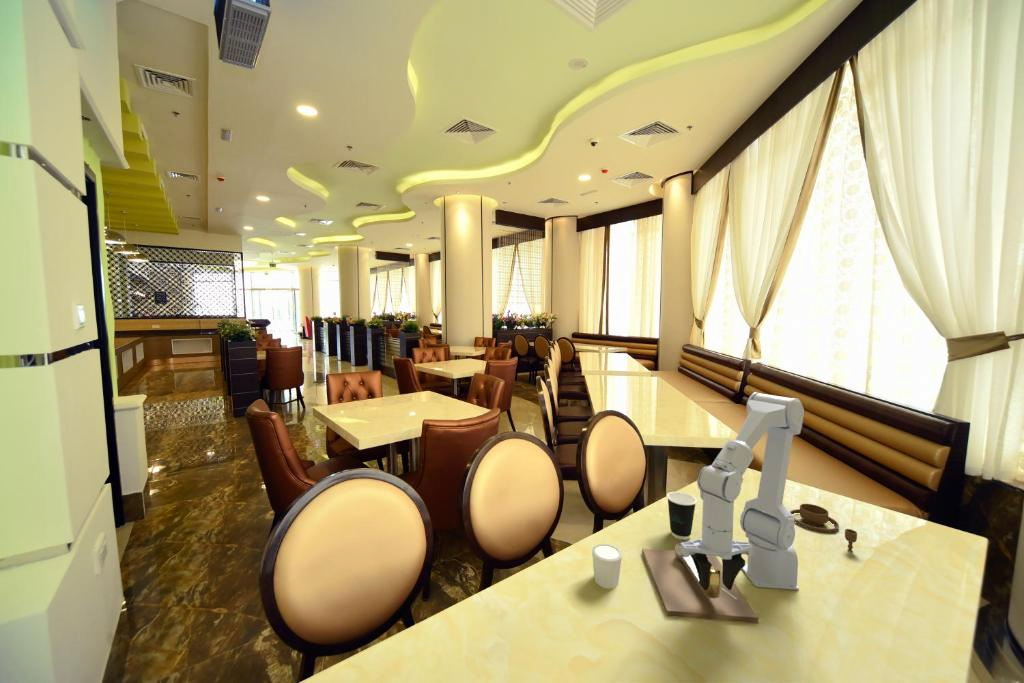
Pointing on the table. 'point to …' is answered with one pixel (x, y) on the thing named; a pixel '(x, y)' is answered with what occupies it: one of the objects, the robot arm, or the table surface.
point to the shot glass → (606, 565)
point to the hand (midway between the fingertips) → (715, 586)
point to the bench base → (694, 591)
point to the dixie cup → (681, 513)
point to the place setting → (822, 521)
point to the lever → (689, 563)
